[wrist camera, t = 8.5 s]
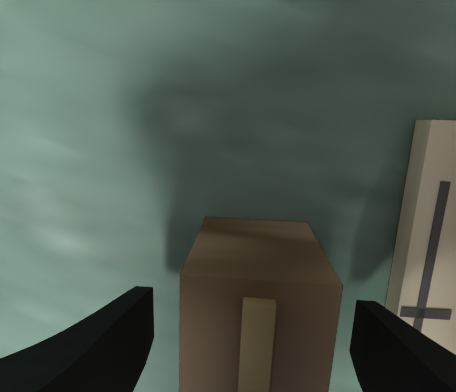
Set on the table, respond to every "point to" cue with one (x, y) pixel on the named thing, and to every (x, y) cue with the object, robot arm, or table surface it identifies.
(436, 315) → the birch plank
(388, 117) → the table surface
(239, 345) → the brown small block
